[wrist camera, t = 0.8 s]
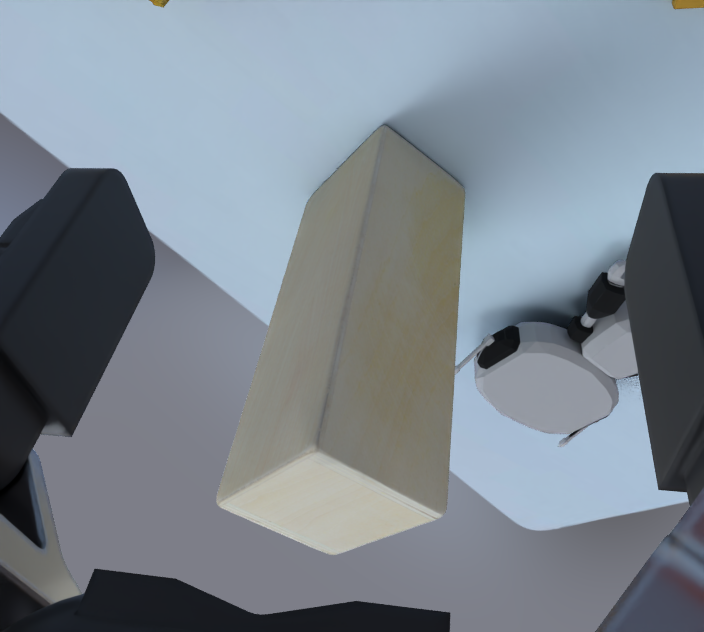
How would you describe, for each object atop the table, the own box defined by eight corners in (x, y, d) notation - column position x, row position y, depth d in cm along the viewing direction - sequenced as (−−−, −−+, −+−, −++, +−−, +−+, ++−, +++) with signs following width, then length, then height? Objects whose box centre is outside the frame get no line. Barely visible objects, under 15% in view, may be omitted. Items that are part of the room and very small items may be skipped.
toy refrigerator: (391, 261, 45) (342, 565, 31) (304, 201, 42) (208, 505, 28) (476, 194, 39) (463, 523, 26) (384, 120, 37) (313, 444, 23)
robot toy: (616, 222, 40) (443, 338, 49) (630, 269, 37) (443, 385, 46) (724, 321, 45) (549, 411, 54) (745, 371, 42) (555, 457, 51)
